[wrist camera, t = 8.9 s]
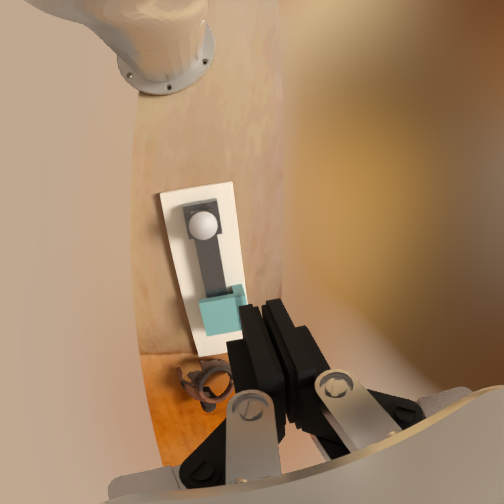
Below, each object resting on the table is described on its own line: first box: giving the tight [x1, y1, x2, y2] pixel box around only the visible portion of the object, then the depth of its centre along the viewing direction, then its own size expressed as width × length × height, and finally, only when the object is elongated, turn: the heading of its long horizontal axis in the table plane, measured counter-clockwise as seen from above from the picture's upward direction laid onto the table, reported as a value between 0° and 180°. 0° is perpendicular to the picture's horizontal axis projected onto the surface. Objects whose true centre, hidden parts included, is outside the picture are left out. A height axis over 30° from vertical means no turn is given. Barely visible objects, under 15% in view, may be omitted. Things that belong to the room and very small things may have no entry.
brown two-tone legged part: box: [177, 359, 234, 412], centre depth 48 cm, size 12×10×8 cm
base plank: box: [160, 181, 248, 357], centre depth 40 cm, size 28×10×5 cm, turn 7°
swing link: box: [182, 198, 228, 298], centre depth 40 cm, size 20×4×2 cm, turn 7°
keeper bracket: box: [199, 284, 247, 336], centre depth 42 cm, size 6×6×3 cm
